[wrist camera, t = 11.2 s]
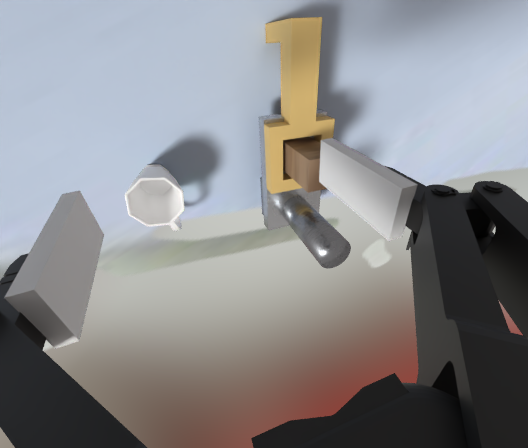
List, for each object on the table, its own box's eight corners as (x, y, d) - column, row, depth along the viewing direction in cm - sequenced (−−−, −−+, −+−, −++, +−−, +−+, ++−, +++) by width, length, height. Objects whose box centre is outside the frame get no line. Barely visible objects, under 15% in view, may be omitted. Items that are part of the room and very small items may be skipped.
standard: (250, 111, 39) (307, 147, 24) (306, 104, 41) (389, 134, 27) (257, 214, 48) (300, 284, 34) (302, 204, 51) (361, 266, 36)
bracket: (244, 24, 33) (266, 18, 27) (310, 22, 35) (344, 16, 29) (254, 173, 44) (271, 194, 38) (304, 164, 46) (328, 182, 40)
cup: (166, 146, 37) (168, 166, 31) (197, 203, 43) (205, 229, 37) (117, 166, 37) (110, 191, 30) (156, 221, 43) (157, 252, 36)
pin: (267, 155, 43) (307, 192, 32) (266, 130, 41) (309, 160, 30) (290, 152, 44) (337, 186, 33) (291, 126, 42) (341, 154, 31)
